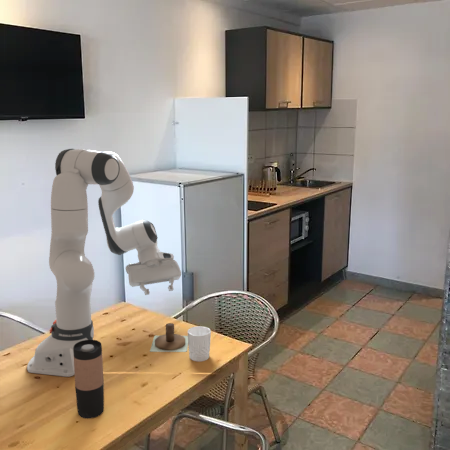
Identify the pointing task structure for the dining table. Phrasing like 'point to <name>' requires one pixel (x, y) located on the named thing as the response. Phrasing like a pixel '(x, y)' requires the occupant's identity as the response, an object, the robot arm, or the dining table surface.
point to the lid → (170, 339)
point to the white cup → (199, 343)
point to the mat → (155, 349)
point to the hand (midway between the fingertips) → (159, 292)
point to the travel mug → (89, 378)
